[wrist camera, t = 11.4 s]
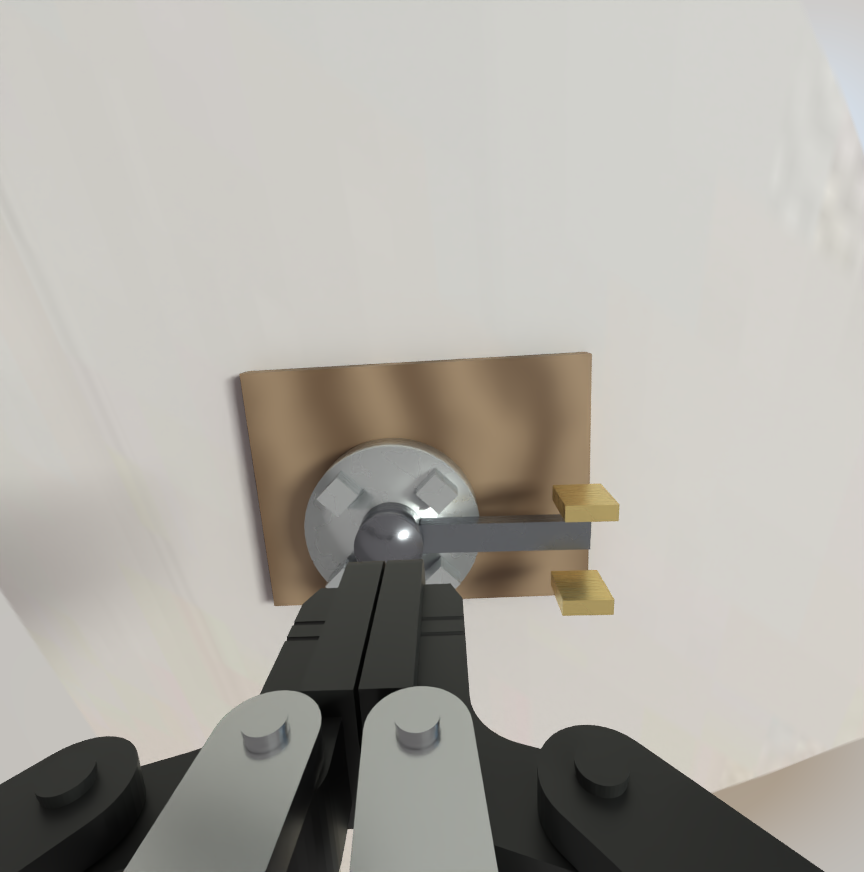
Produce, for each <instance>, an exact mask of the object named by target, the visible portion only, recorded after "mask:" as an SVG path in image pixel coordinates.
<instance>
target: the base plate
mask: <svg viewBox="0 0 864 872" xmlns="http://www.w3.org/2000/svg"><path fill="white" fill-rule="evenodd" d="M591 367H592V354H591V353H587V352H576V353H559V354H541V355H524V356H506V357H489V358H472V359H454V360H437V361H419V362H402V363H384V364H367V365H349V366H332V367H314V368H297V369H279V370H262V371H247V372H244V373H241V374H240V381H241V388H242V394H243V401H244V407H245V414H246V421H247V427H248V434H249V441H250V447H251V454H252V460H253V467H254V474H255V480H256V487H257V493H258V500H259V507H260V513H261V520H262V526H263V533H264V540H265V546H266V553H267V559H268V566H269V573H270V579H271V586H272V592H273V599H274V606H288V605H303V603H304V602H306V601H307V600H308V599H309V598H310V597H311V596H313V595H314V594H315V593H316V592H317V591H318V590H319V589H321V588H326V587H325V586H326V584H327V581H326V580H325V579H324V578H323V576H322V575H321V574H320V573H319V571H318V570H317V568H316V566H315V565H314V563H313V561H312V559H311V557H310V554H309V551H308V548H307V544H306V539H305V529H304V522H305V513H306V509H307V505H308V502H309V499H310V497H311V494H312V492H313V491H314V489H315V487H316V485H317V484H318V482H319V481H320V480H321V478H322V477H323V476H324V474H325V473H326V472H327V470H328V469H329V468H330V467H331V465H332V464H333V463H334V462H335V461H336V460H337V459H338V458H339V457H340V456H342V455H343V454H345V453H346V452H347V451H349V450H350V449H352V448H354V447H356V446H358V445H360V444H363V443H366V442H368V441H372V440H377V439H383V438H405V439H411V440H415V441H419V442H422V443H425V444H427V445H430V446H432V447H434V448H436V449H438V450H439V451H441V452H443V453H444V454H445V455H447V456H448V457H449V458H450V459H452V460H453V461H454V462H455V463H456V464H457V465H458V466H459V467H460V469H461V470H462V471H463V473H464V474H465V475H466V477H467V478H468V480H469V482H470V484H471V486H472V488H473V491H474V494H475V497H476V501H477V505H478V511H479V516H511V515H548V514H560V513H559V511H558V509H557V507H556V506H555V504H554V502H553V500H552V491H553V485H572V484H590V426H591ZM575 570H588V549H583V550H542V551H501V552H478V553H477V556H476V559H475V562H474V564H473V566H472V567H471V569H470V571H469V573H468V574H467V575H466V577H465V578H464V580H463V581H462V582H461V584H460V585H459V586H458V587H457V588H456V589H455V590H456V591H457V592H458V593H459V594H460V596H461V597H462V599H470V598H496V597H522V596H548V595H555V594H554V592H553V589H552V587H551V571H575Z"/></svg>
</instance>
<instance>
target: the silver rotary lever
mask: <svg viewBox="0 0 864 872" xmlns="http://www.w3.org/2000/svg"><path fill="white" fill-rule="evenodd" d="M552 500H553V502H554V504H555V506H556V507H557V509H558V511H559V513H560V514H548V515H511V516H479V511H478V505H477V501H476V497H475V494H474V491H473V488H472V486H471V484H470V482H469V480H468V478H467V477H466V475H465V474H464V473H463V471H462V470H461V469H460V467H459V466H458V465H457V464H456V463H455V462H454V461H453V460H452V459H450V458H449V457H448V456H447V455H445V454H444V453H443V452H441V451H439V450H438V449H436V448H434V447H432V446H430V445H427V444H425V443H422V442H419V441H415V440H411V439H405V438H383V439H377V440H372V441H368V442H366V443H363V444H360V445H358V446H356V447H354V448H352V449H350V450H349V451H347V452H346V453H345V454H343V455H342V456H340V457H339V458H338V459H337V460H336V461H335V462H334V463H333V464H332V465H331V467H330V468H329V469H328V470H327V472H326V473H325V474H324V476H323V477H322V478H321V480H320V481H319V482H318V484H317V485H316V487H315V489H314V491H313V492H312V494H311V497H310V499H309V502H308V505H307V509H306V513H305V522H304V529H305V539H306V544H307V548H308V551H309V554H310V557H311V559H312V561H313V563H314V565H315V566H316V568H317V570H318V571H319V573H320V574H321V575H322V576H323V578H324V579H325V580H326V581H327V584H326V586H325V587H326V588H338V586H339V583H340V581H341V578H342V575H343V573H344V570H345V568H346V565H347V563H348V562H363V561H385V562H387V561H388V560H412V559H423V560H424V567H425V582H426V584H448V583H451V585H452V586H453V587H454V588H455V589H456V588H457V587H458V586H459V585H460V584H461V582H462V581H463V580H464V578H465V577H466V575H467V574H468V573H469V571H470V569H471V567H472V566H473V564H474V562H475V559H476V556H477V553H478V552H501V551H542V550H583V549H590V538H591V522H600V521H618V520H619V504H618V502H617V501H616V500H615V499H614V498H613V497H612V496H611V495H610V494H609V492H608V491H607V490H606V489H605V488H604V487H603V486H602V485H601V484H572V485H553V491H552ZM551 587H552V589H553V592H554V594H555V597H556V600H557V602H558V605H559V607H560V610H561V613H562V615H563V616H571V615H613V614H614V598H613V597H612V595H611V593H610V592H609V590H608V588H607V586H606V585H605V583H604V581H603V580H602V578H601V576H600V574H599V573H598V571H597V570H575V571H551Z"/></svg>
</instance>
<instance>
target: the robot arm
mask: <svg viewBox="0 0 864 872" xmlns="http://www.w3.org/2000/svg"><path fill="white" fill-rule="evenodd" d="M347 829H354V830H353V841H352V851H351V861H350V872H824V871H823V870H821V869H820V868H818V867H817V866H815V865H814V864H812V863H811V862H810V861H808V860H807V859H805V858H804V857H802V856H801V855H800V854H798V853H797V852H795V851H794V850H792V849H791V848H789V847H788V846H787V845H785V844H784V843H782V842H781V841H779V840H778V839H776V838H775V837H773V836H772V835H771V834H769V833H768V832H766V831H765V830H763V829H762V828H760V827H759V826H758V825H756V824H755V823H753V822H752V821H750V820H749V819H748V818H746V817H745V816H743V815H742V814H740V813H739V812H737V811H736V810H735V809H733V808H732V807H730V806H729V805H727V804H726V803H724V802H723V801H722V800H720V799H718V798H717V797H716V796H714V795H713V794H711V793H710V792H709V791H707V790H706V789H704V788H703V787H701V786H700V785H699V784H697V783H696V782H694V781H693V780H691V779H690V778H688V777H687V776H686V775H684V774H683V773H681V772H680V771H678V770H677V769H675V768H674V767H673V766H671V765H670V764H668V763H667V762H665V761H664V760H662V759H661V758H660V757H658V756H657V755H655V754H654V753H652V752H651V751H649V750H648V749H647V748H645V747H644V746H642V745H641V744H639V743H638V742H636V741H635V740H633V739H632V738H630V737H628V736H627V735H624V734H622V733H620V732H618V731H615V730H612V729H609V728H606V727H601V726H595V725H577V726H572V727H568V728H565V729H563V730H560V731H558V732H557V733H555V734H553V735H552V736H551V737H550V738H549V739H548V740H547V741H546V742H545V744H544V745H543V747H542V748H541V749H539V748H535V747H531V746H528V745H524V744H520V743H517V742H513V741H510V740H508V739H506V738H503V737H501V736H499V735H498V734H496V733H494V732H493V731H491V730H490V729H489V728H488V727H486V726H485V725H484V724H483V723H482V722H481V720H480V719H479V718H478V717H477V715H476V714H475V712H474V710H473V708H472V705H471V702H470V696H469V682H468V668H467V654H466V641H465V627H464V613H463V599H462V597H461V596H460V594H459V593H458V592H457V591H456V590H455V588H454V587H453V586H452V585H451V583H448V584H426V582H425V567H424V560H423V559H412V560H388V561H387V562H385V561H363V562H348V563H347V565H346V568H345V570H344V573H343V575H342V578H341V581H340V583H339V586H338V588H321V589H319V590H318V591H317V592H316V593H315V594H314V595H313V596H311V597H310V598H309V599H308V600H307V601H306V602H304V603H303V605H302V607H301V609H300V611H299V613H298V615H297V617H296V619H295V622H294V625H293V626H292V628H291V630H290V632H289V634H288V636H287V641H285V643H284V645H283V647H282V649H281V651H280V653H279V655H278V657H277V659H276V661H275V664H274V666H273V668H272V670H271V672H270V674H269V676H268V678H267V680H266V682H265V685H264V687H263V689H262V691H261V693H260V695H258V696H255V697H253V698H250V699H248V700H246V701H245V702H243V703H241V704H239V705H238V706H236V707H235V708H234V709H232V710H231V711H230V712H229V713H227V714H226V715H225V716H224V717H223V718H222V719H221V721H220V722H219V723H218V724H217V726H216V727H215V728H214V730H213V732H212V733H211V735H210V736H209V738H208V740H207V741H206V743H205V744H204V746H203V747H202V748H200V749H197V750H194V751H191V752H189V753H185V754H182V755H178V756H175V757H171V758H168V759H164V760H161V761H157V762H154V763H151V764H147V765H144V766H140V762H139V757H138V753H137V750H136V748H135V746H134V745H133V744H132V743H131V742H130V741H128V740H126V739H124V738H120V737H110V736H106V737H97V738H93V739H88V740H85V741H82V742H79V743H76V744H73V745H71V746H69V747H66V748H64V749H62V750H60V751H58V752H56V753H54V754H52V755H51V756H49V757H47V758H45V759H44V760H42V761H40V762H39V763H37V764H35V765H33V766H31V767H30V768H28V769H26V770H25V771H23V772H21V773H20V774H18V775H16V776H14V777H12V778H11V779H9V780H7V781H6V782H4V783H2V784H0V872H341V870H340V865H341V862H342V856H343V851H344V845H345V840H346V834H347Z"/></svg>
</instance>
